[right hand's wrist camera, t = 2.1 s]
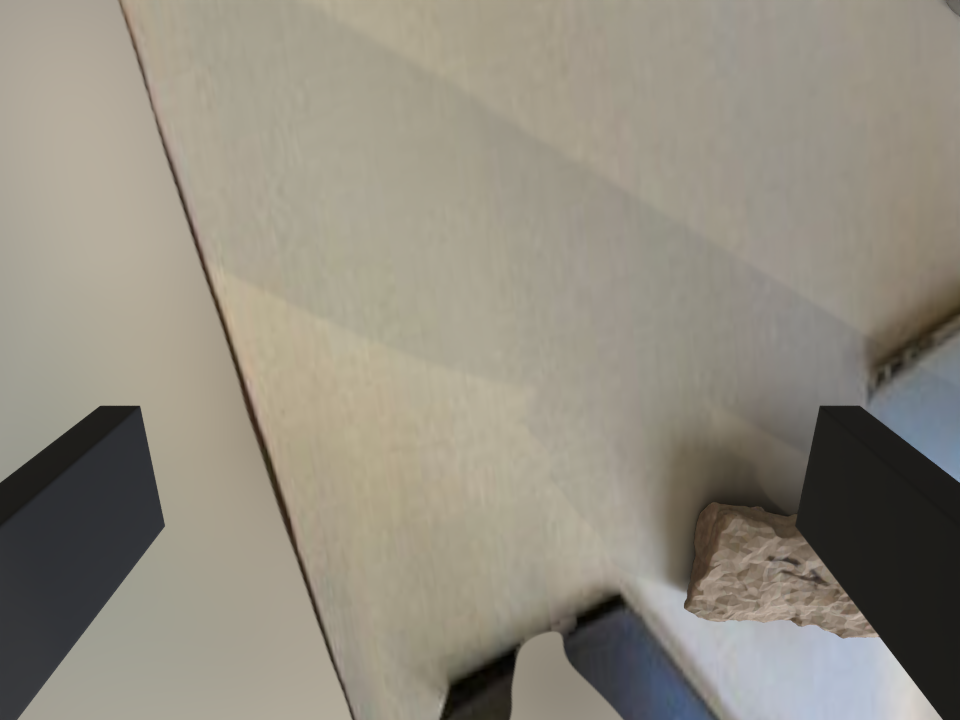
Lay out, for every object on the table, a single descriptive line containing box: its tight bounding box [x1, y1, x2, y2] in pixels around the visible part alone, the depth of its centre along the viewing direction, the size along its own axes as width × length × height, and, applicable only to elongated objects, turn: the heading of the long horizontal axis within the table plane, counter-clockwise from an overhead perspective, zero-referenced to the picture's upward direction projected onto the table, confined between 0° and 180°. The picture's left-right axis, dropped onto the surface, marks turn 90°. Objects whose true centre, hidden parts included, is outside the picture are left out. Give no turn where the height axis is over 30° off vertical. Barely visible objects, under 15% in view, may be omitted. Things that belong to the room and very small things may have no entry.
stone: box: [684, 502, 879, 639], centre depth 60 cm, size 21×15×6 cm
